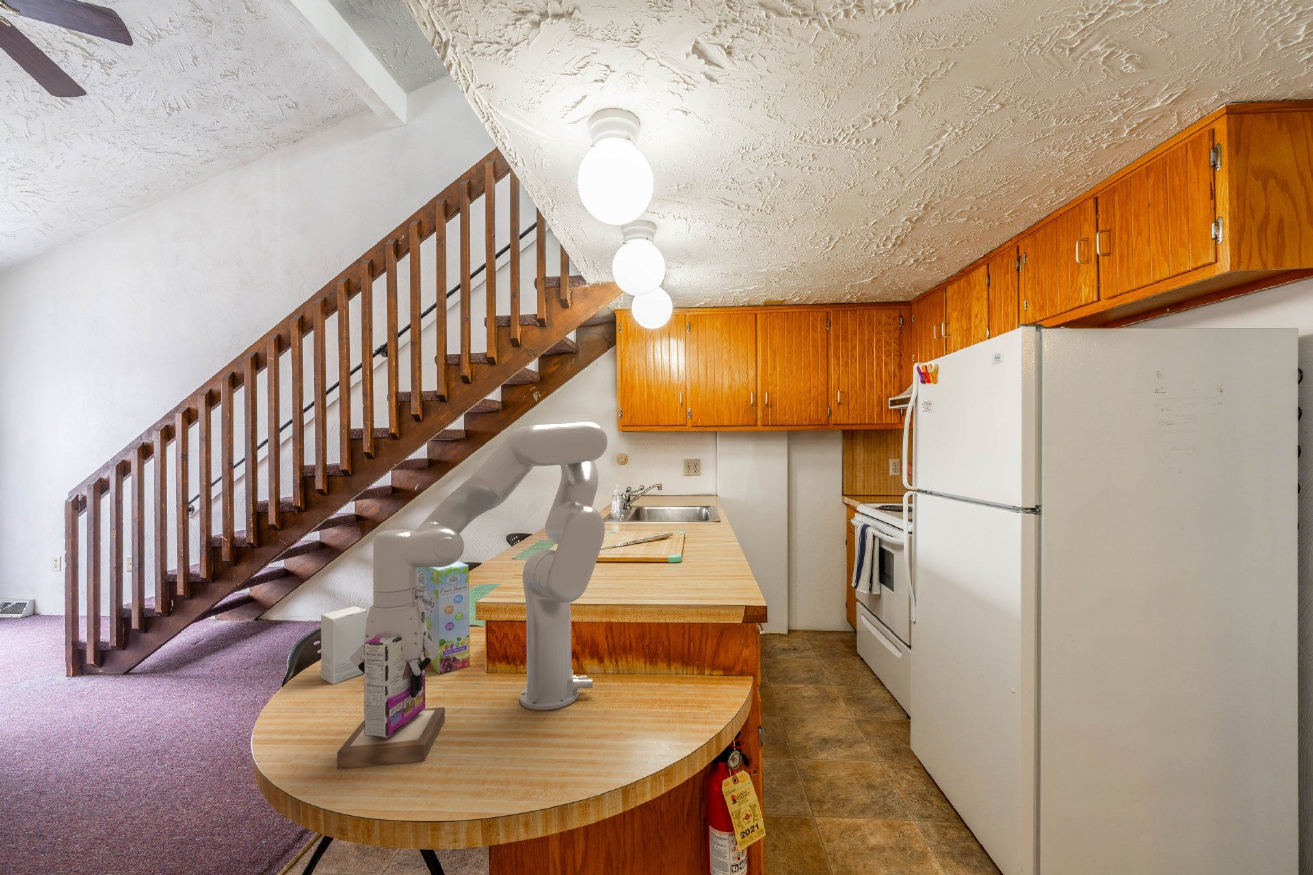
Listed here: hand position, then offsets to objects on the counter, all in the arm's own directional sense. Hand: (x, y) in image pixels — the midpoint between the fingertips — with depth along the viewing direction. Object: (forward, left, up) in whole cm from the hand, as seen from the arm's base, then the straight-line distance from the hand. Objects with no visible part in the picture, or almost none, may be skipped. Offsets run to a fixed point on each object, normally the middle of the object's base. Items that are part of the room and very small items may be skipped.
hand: (395, 695), depth 98 cm
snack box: (+3, -42, -9) cm, 43 cm away
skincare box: (+23, -35, -9) cm, 43 cm away
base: (0, 0, -9) cm, 9 cm away
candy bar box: (0, 0, -5) cm, 5 cm away
